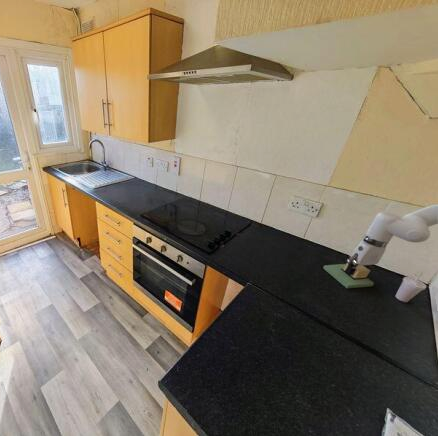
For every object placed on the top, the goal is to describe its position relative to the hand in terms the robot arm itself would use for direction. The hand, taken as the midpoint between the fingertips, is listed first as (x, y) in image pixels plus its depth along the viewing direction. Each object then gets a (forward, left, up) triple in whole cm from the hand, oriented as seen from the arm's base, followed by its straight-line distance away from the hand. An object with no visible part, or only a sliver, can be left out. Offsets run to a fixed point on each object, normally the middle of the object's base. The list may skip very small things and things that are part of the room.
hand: (354, 272), depth 104 cm
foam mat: (+3, 0, -3) cm, 4 cm away
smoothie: (-9, +14, -3) cm, 17 cm away
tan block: (0, 0, -1) cm, 1 cm away
